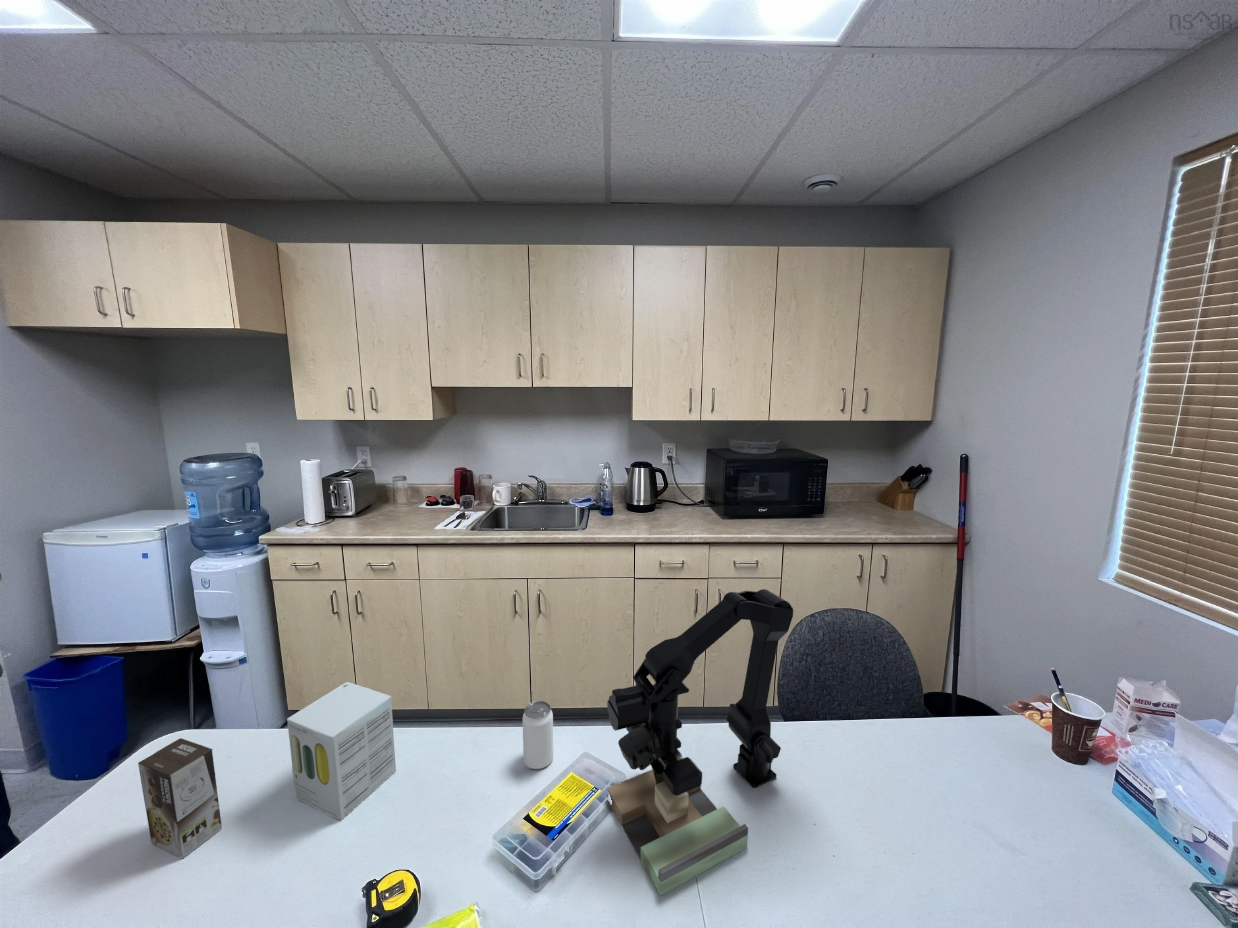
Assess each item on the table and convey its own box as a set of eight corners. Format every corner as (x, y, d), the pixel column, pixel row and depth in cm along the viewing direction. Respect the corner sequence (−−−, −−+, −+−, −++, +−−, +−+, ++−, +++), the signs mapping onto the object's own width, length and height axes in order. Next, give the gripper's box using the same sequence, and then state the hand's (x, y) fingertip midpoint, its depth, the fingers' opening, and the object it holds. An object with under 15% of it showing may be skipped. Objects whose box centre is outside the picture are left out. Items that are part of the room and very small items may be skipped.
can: (547, 772, 98) (546, 721, 96) (518, 767, 99) (517, 716, 97) (557, 750, 104) (556, 701, 102) (530, 745, 105) (529, 697, 104)
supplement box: (292, 799, 91) (284, 718, 88) (353, 752, 103) (347, 679, 101) (340, 822, 86) (332, 737, 84) (397, 770, 98) (392, 694, 96)
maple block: (674, 794, 90) (675, 776, 89) (687, 813, 86) (688, 794, 85) (654, 803, 88) (655, 784, 87) (667, 823, 84) (667, 803, 83)
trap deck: (606, 799, 91) (606, 781, 91) (682, 767, 99) (682, 750, 99) (660, 895, 74) (661, 873, 73) (747, 847, 82) (748, 827, 81)
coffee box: (224, 827, 85) (214, 748, 83) (181, 860, 79) (169, 775, 77) (192, 812, 88) (181, 735, 86) (148, 843, 82) (136, 761, 79)
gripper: (603, 697, 92) (602, 767, 95) (650, 763, 76) (648, 846, 78) (651, 682, 97) (649, 749, 100) (705, 742, 81) (702, 820, 83)
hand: (660, 787), depth 90 cm, fingers closed
